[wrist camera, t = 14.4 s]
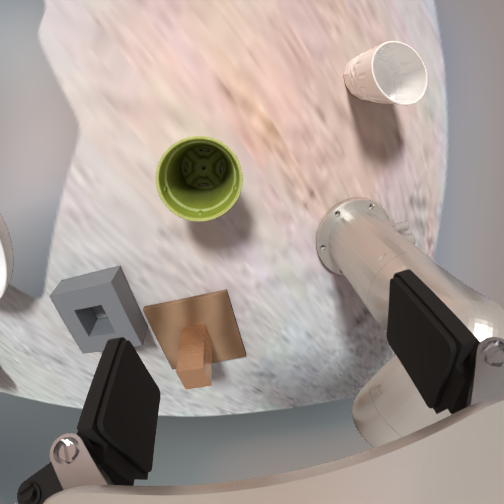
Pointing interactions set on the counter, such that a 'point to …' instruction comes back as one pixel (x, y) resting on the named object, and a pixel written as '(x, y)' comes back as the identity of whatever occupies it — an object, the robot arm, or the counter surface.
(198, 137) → the plant pot
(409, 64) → the white cup
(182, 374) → the copper peg
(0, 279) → the serving bowl
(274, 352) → the counter surface
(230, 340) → the walnut mat
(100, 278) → the socket block
